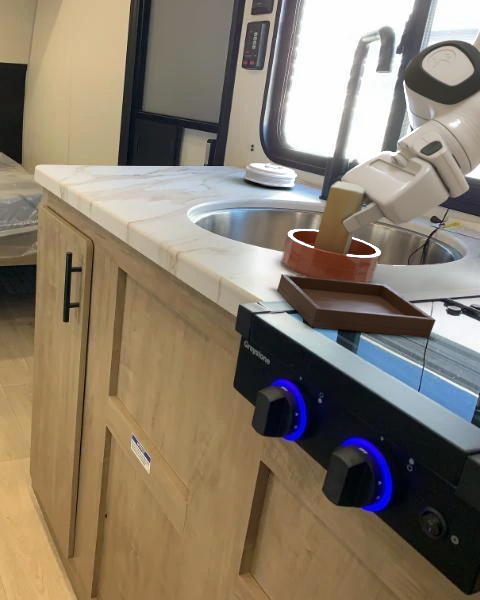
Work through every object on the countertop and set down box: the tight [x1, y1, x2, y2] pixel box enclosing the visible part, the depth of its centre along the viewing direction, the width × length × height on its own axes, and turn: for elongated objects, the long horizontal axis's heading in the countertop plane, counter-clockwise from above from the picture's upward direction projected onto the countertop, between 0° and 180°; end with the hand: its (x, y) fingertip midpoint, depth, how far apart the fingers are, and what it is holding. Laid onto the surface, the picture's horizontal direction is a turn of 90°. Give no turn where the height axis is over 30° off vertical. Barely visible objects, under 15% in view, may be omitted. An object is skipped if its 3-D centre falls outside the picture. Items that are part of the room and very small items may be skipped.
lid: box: [243, 162, 298, 188], centre depth 152 cm, size 13×13×5 cm
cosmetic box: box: [314, 180, 365, 255], centre depth 86 cm, size 6×4×12 cm
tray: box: [277, 273, 436, 339], centre depth 73 cm, size 14×11×2 cm
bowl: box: [281, 228, 382, 283], centre depth 88 cm, size 13×13×4 cm
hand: (335, 219), depth 86 cm, fingers open, 7 cm apart
